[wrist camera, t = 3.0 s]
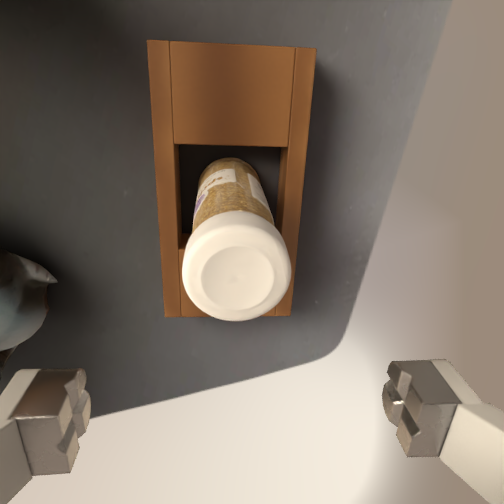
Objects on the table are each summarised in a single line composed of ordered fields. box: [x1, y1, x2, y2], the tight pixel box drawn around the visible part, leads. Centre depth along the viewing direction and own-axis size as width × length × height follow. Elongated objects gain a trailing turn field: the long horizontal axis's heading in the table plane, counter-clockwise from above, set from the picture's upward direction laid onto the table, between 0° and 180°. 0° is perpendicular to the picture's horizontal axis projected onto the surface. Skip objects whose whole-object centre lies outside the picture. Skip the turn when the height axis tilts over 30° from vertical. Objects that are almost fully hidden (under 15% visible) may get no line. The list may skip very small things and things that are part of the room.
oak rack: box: [147, 40, 317, 317], centre depth 26 cm, size 9×18×3 cm, turn 178°
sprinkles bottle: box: [182, 157, 291, 321], centre depth 22 cm, size 5×5×13 cm
